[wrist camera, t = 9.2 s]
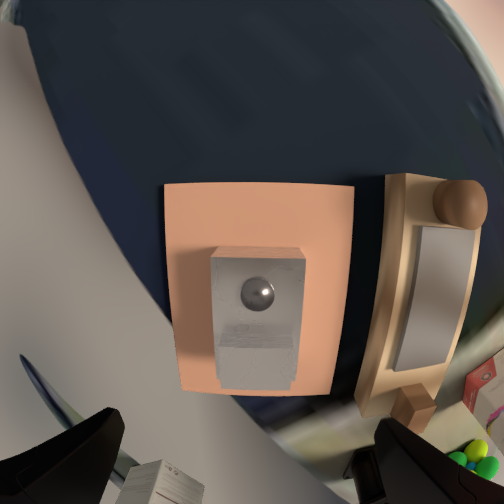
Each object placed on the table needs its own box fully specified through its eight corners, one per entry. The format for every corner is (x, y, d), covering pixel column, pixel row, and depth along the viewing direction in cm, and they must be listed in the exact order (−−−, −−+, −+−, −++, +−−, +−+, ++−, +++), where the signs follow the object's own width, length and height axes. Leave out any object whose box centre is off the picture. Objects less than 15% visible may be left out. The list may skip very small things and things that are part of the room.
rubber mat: (328, 389, 20) (329, 393, 20) (184, 385, 21) (182, 390, 20) (351, 186, 17) (354, 186, 16) (167, 184, 17) (164, 184, 17)
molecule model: (441, 453, 23) (426, 479, 25) (462, 493, 15) (441, 515, 16) (484, 430, 23) (467, 459, 24) (507, 463, 14) (484, 490, 16)
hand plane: (419, 384, 20) (446, 424, 14) (353, 395, 20) (372, 444, 15) (458, 186, 16) (511, 189, 10) (385, 175, 17) (433, 170, 11)
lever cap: (291, 356, 19) (297, 396, 15) (222, 354, 19) (212, 393, 15) (299, 247, 17) (310, 266, 13) (219, 245, 17) (204, 264, 13)
